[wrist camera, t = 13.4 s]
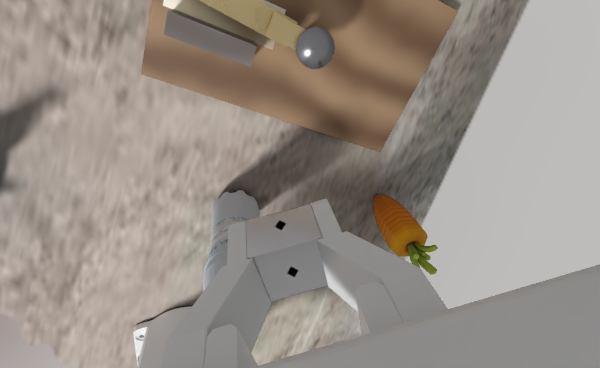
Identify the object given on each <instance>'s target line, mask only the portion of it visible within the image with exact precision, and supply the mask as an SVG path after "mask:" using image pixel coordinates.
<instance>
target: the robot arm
mask: <svg viewBox="0 0 600 368" xmlns="http://www.w3.org/2000/svg"><path fill="white" fill-rule="evenodd" d="M324 286H328V287H329V288H330V289H332V290H333V291H334V292H335V293H336V294H338V295H339V296H340V297H341V298H342V299H343V300H345V301H346V302H347V303H348V304H349V305H350V306H352V307H353V308H354V309H355V310H356V311H358V312H359V318H360V325H361V331H362V335H361V336H358V337H354V338H351V339H348V340H344V341H341V342H337V343H334V344H331V345H327V346H324V347H321V348H317V349H314V350H310V351H307V352H304V353H300V354H297V355H294V356H290V357H287V358H283V359H280V360H277V361H273V362H270V363H267V364H263V365H260V366H258V365H257V363H256V361H255V360H254V358H253V356H252V354H251V352H252V349H253V347H254V345H255V342H256V340H257V337H258V335H259V333H260V330H261V328H262V325H263V323H264V321H265V318H266V316H267V313H268V311H269V309H270V306H271V304H272V303H271V302H272V301H276V300H279V299H282V298H285V297H288V296H291V295H294V294H298V293H299V292H300V293H301V292H305V291H309V290H313V289H316V288H320V287H324ZM133 334H134V342H135V350H136V357H137V368H600V265H596V266H593V267H590V268H586V269H583V270H580V271H576V272H573V273H570V274H566V275H563V276H559V277H556V278H553V279H549V280H546V281H543V282H539V283H536V284H532V285H529V286H526V287H522V288H519V289H516V290H512V291H509V292H506V293H502V294H499V295H495V296H492V297H489V298H485V299H482V300H479V301H475V302H472V303H468V304H465V305H462V306H458V307H455V308H451V309H447V307H446V306H445V304H444V303H443V301H442V300H441V298H440V297H439V295H438V294H437V292H436V291H435V290H434V288H433V287H432V285H431V284H430V282H429V281H428V279H427V278H426V276H425V275H424V273H423V272H422V270H421V269H420V268H419V267H417V266H415V265H413V264H411V263H409V262H407V261H405V260H403V259H401V258H399V257H397V256H395V255H393V254H391V253H389V252H387V251H385V250H383V249H381V248H379V247H377V246H375V245H374V244H372V243H370V242H368V241H366V240H364V239H362V238H360V237H358V236H356V235H354V234H352V233H350V232H348V231H346V232H342V231H341V228H340V226H339V224H338V222H337V220H336V217H335V215H334V213H333V211H332V209H331V206H330V204H329V202H328V200H327V199H326V198H325V199H322V200H319V201H316V202H312V203H310V204H308V205H304V206H300V207H297V208H293V209H290V210H286V211H283V212H278V213H274V214H270V215H266V216H262V217H258V218H254V219H251V220H247V221H243V222H239V223H236V224H232V225H230V226H229V228H228V251H227V265H226V266H222V267H221V269H220V270H219V271H218V273H217V274H216V275H215V277H214V278H213V279H212V281H211V282H210V283H209V285H208V286H207V287H206V289H205V290H204V291H203V293H202V294H201V295H200V297H199V298H198V299H197V301H196V302H195V303H194V305H193V306H192V307H182V308H177V309H173V310H170V311H167V312H165V313H163V314H161V315H160V316H158V317H157V318H155V319H153V320H151V321H148V322H144V323H141V324H138V325H136V326H135V327H134V333H133Z"/></svg>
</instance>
